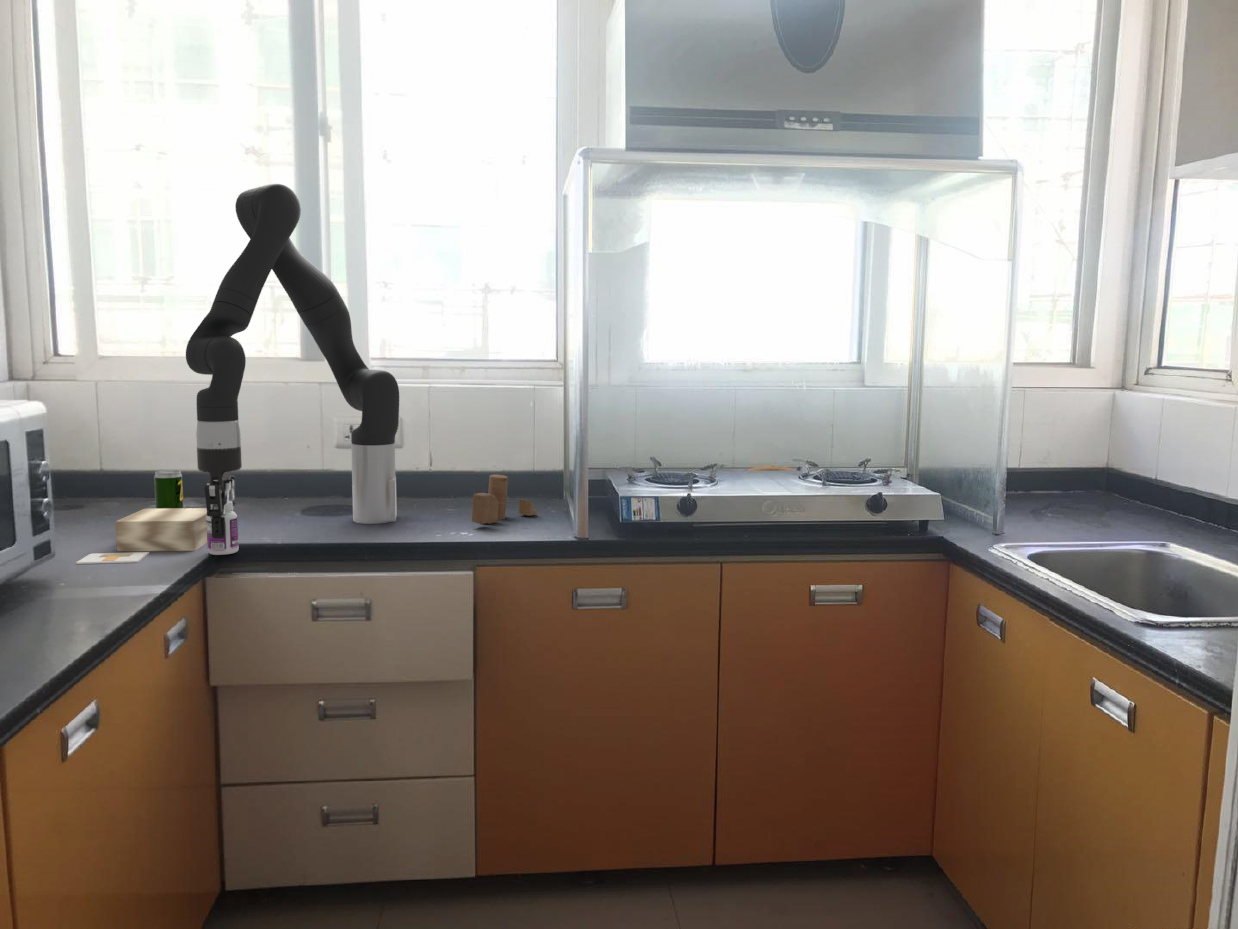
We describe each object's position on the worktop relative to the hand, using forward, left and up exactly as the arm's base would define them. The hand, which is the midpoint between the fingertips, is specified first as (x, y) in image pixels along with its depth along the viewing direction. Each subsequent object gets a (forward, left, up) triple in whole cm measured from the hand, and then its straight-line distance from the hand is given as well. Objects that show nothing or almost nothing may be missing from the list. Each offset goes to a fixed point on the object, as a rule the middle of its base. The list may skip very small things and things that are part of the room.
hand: (222, 534), depth 172 cm
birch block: (+12, -10, -4) cm, 16 cm away
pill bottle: (0, 0, -4) cm, 4 cm away
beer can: (+16, -26, -4) cm, 31 cm away
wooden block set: (-53, -22, -4) cm, 57 cm away
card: (+18, +3, -3) cm, 19 cm away
